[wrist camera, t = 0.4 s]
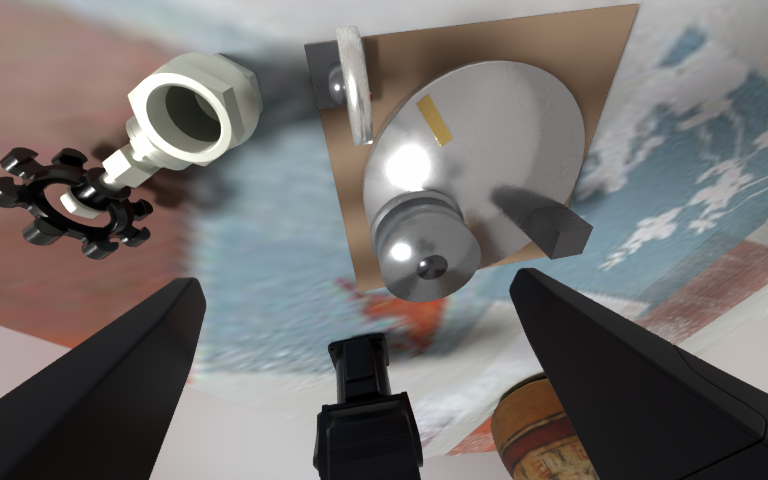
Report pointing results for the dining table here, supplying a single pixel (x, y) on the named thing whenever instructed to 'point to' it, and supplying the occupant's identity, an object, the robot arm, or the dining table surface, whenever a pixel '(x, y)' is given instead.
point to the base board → (462, 45)
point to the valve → (139, 152)
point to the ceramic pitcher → (538, 437)
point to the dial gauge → (343, 79)
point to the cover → (423, 246)
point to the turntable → (488, 155)
